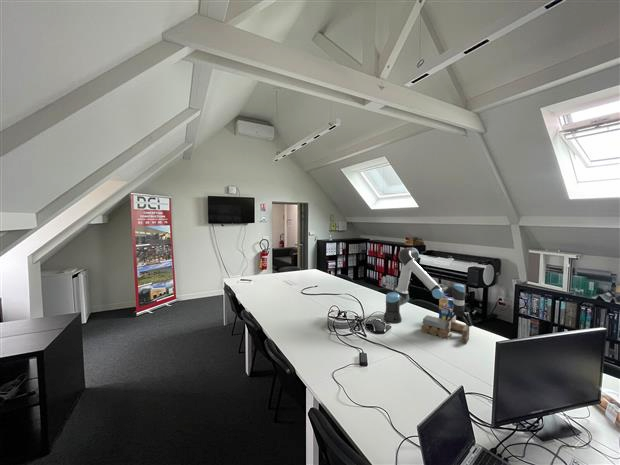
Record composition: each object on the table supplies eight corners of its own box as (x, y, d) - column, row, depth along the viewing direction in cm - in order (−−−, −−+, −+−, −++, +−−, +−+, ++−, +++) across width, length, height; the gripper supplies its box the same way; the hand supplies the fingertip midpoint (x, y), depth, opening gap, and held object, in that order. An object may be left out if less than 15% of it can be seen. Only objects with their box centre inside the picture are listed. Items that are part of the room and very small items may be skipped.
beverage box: (452, 326, 207) (452, 300, 206) (438, 322, 216) (439, 297, 215) (455, 324, 211) (456, 298, 210) (442, 320, 220) (443, 295, 219)
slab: (422, 323, 197) (422, 318, 197) (427, 319, 205) (427, 315, 204) (445, 329, 186) (445, 324, 186) (448, 325, 194) (448, 320, 194)
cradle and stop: (446, 338, 186) (447, 325, 185) (450, 334, 193) (450, 321, 193) (466, 344, 178) (466, 330, 177) (469, 339, 185) (469, 326, 184)
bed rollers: (446, 339, 186) (446, 331, 185) (421, 331, 198) (421, 324, 198) (450, 333, 194) (450, 326, 194) (425, 327, 206) (425, 320, 206)
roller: (450, 323, 200) (452, 320, 204) (450, 330, 201) (452, 326, 205) (466, 327, 192) (468, 324, 197) (466, 334, 194) (468, 330, 198)
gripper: (441, 302, 200) (440, 329, 201) (475, 309, 184) (474, 338, 185) (443, 300, 205) (443, 326, 206) (477, 306, 190) (476, 334, 191)
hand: (457, 331), depth 196 cm, fingers closed on roller, 11 cm apart
